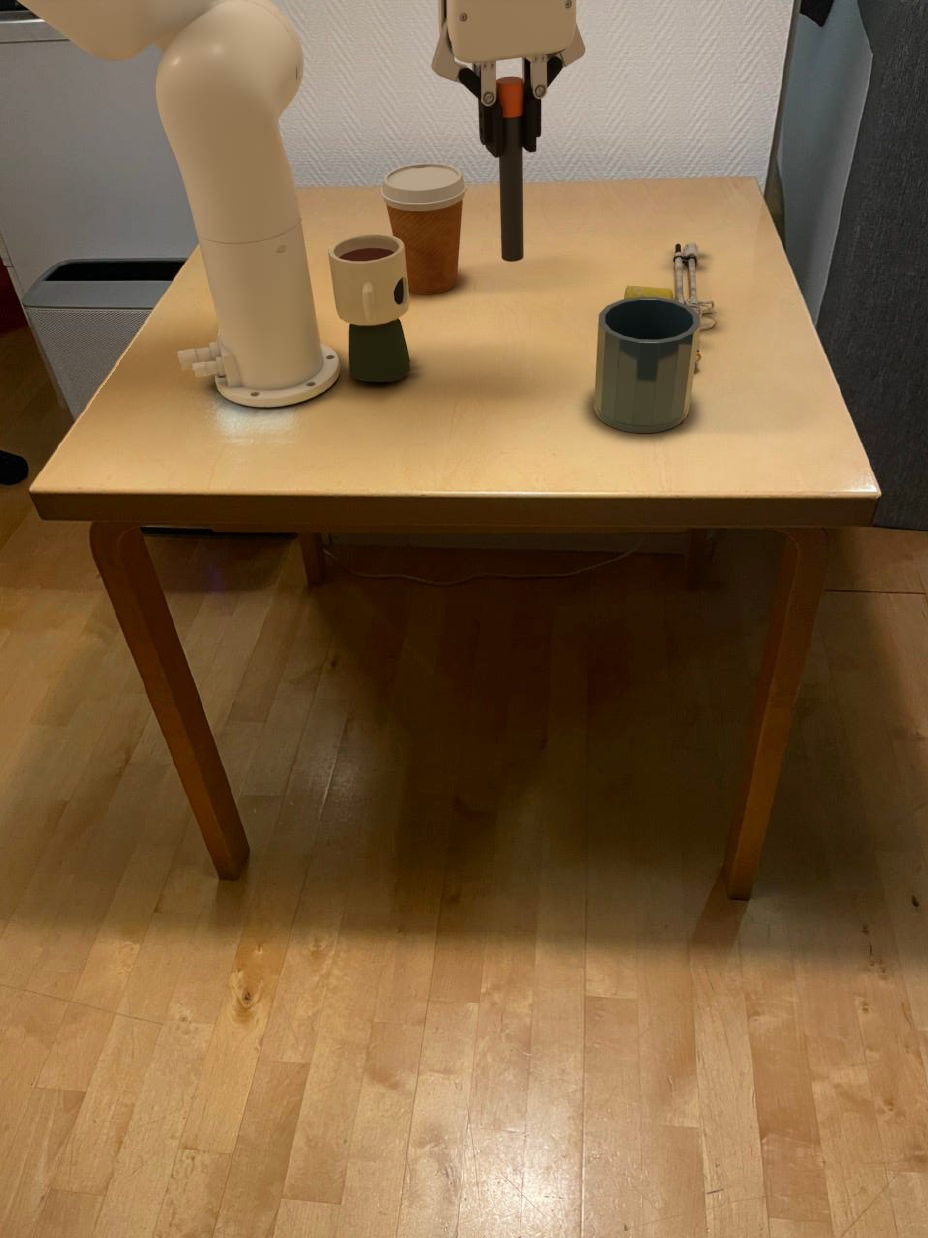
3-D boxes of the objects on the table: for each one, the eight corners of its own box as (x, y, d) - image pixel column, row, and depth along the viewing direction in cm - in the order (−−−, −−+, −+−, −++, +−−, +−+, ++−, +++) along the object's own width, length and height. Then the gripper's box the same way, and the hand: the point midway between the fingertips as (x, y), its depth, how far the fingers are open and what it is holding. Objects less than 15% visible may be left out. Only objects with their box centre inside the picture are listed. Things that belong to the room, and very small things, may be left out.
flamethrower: (618, 368, 96) (720, 376, 95) (621, 343, 94) (726, 351, 93) (626, 253, 117) (710, 259, 116) (629, 231, 116) (714, 237, 115)
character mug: (416, 398, 95) (405, 269, 86) (343, 404, 95) (325, 274, 86) (414, 345, 103) (403, 221, 94) (347, 350, 103) (330, 226, 94)
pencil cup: (614, 440, 88) (621, 349, 82) (580, 393, 94) (584, 305, 88) (704, 423, 89) (717, 332, 83) (664, 377, 96) (674, 290, 89)
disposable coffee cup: (483, 271, 115) (480, 165, 107) (449, 305, 109) (443, 196, 101) (412, 261, 118) (404, 157, 110) (375, 293, 112) (363, 186, 104)
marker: (504, 264, 87) (500, 85, 77) (497, 254, 88) (492, 78, 78) (527, 260, 87) (526, 81, 77) (520, 250, 89) (518, 74, 79)
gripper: (592, -140, 73) (584, 124, 85) (384, -120, 70) (407, 150, 83) (631, -130, 68) (616, 150, 80) (408, -108, 65) (429, 178, 78)
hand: (510, 148), depth 81 cm, fingers closed on marker, 2 cm apart
